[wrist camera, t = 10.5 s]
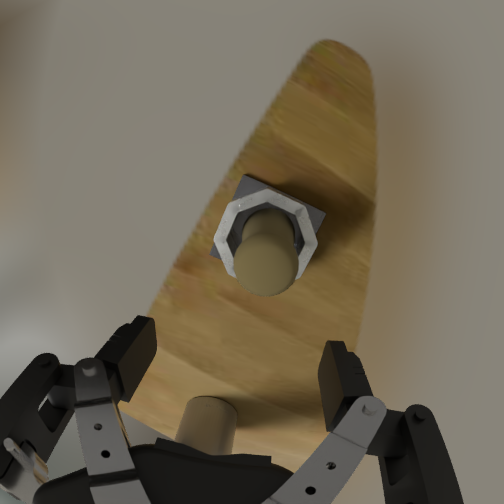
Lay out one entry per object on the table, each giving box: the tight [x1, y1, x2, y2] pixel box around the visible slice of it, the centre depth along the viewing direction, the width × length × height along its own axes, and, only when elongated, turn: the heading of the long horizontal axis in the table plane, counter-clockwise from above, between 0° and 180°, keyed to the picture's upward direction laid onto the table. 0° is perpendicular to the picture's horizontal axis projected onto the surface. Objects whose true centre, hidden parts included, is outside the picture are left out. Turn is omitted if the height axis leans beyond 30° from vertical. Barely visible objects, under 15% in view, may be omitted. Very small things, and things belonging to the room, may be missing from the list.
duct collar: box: [209, 175, 326, 279], centre depth 29 cm, size 10×10×4 cm
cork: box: [233, 208, 299, 296], centre depth 25 cm, size 6×6×11 cm
